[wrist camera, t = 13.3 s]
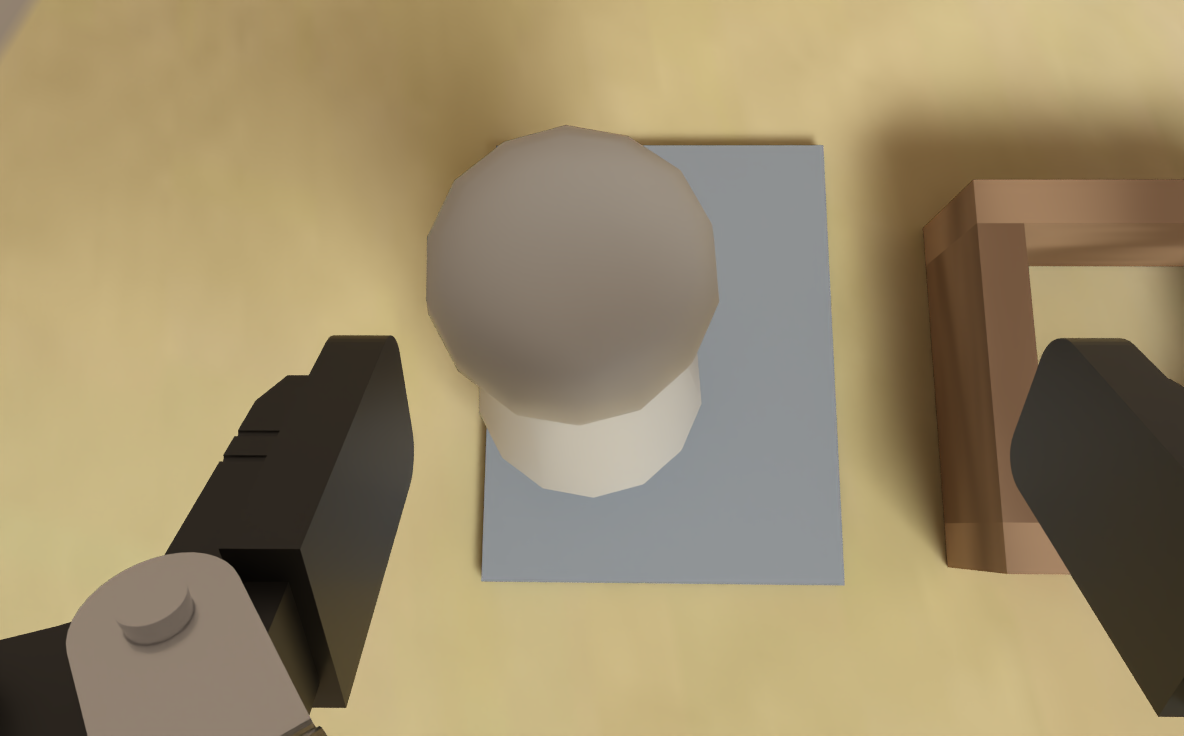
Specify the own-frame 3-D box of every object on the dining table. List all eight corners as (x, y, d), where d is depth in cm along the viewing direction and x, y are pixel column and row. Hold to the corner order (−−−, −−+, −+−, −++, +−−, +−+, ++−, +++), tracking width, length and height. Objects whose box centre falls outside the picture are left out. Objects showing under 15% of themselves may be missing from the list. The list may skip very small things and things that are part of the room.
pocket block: (947, 567, 23) (1007, 573, 19) (923, 228, 25) (973, 179, 21) (1312, 570, 23) (1437, 578, 19) (1258, 228, 25) (1364, 179, 21)
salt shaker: (541, 271, 24) (468, -10, 12) (721, 345, 24) (849, 135, 11) (457, 452, 23) (277, 360, 11) (643, 533, 23) (685, 539, 10)
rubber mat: (483, 580, 23) (481, 581, 23) (498, 151, 26) (496, 145, 25) (840, 584, 23) (844, 585, 22) (819, 151, 25) (823, 145, 25)
